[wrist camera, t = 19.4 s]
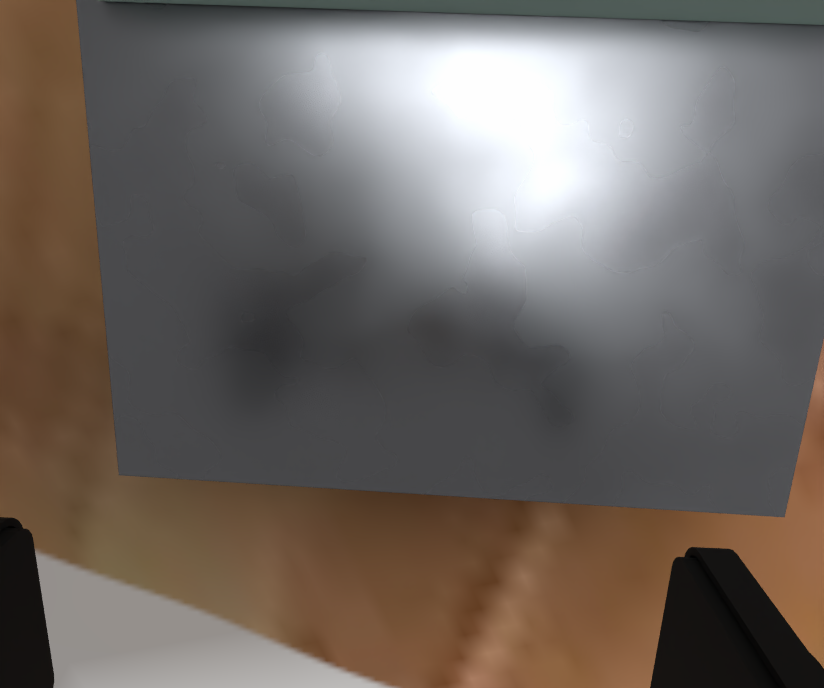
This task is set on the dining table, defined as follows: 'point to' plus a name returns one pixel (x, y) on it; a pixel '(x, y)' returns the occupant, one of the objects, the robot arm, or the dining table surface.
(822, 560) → the dining table surface
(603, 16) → the block
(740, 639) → the robot arm
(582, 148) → the vise base
